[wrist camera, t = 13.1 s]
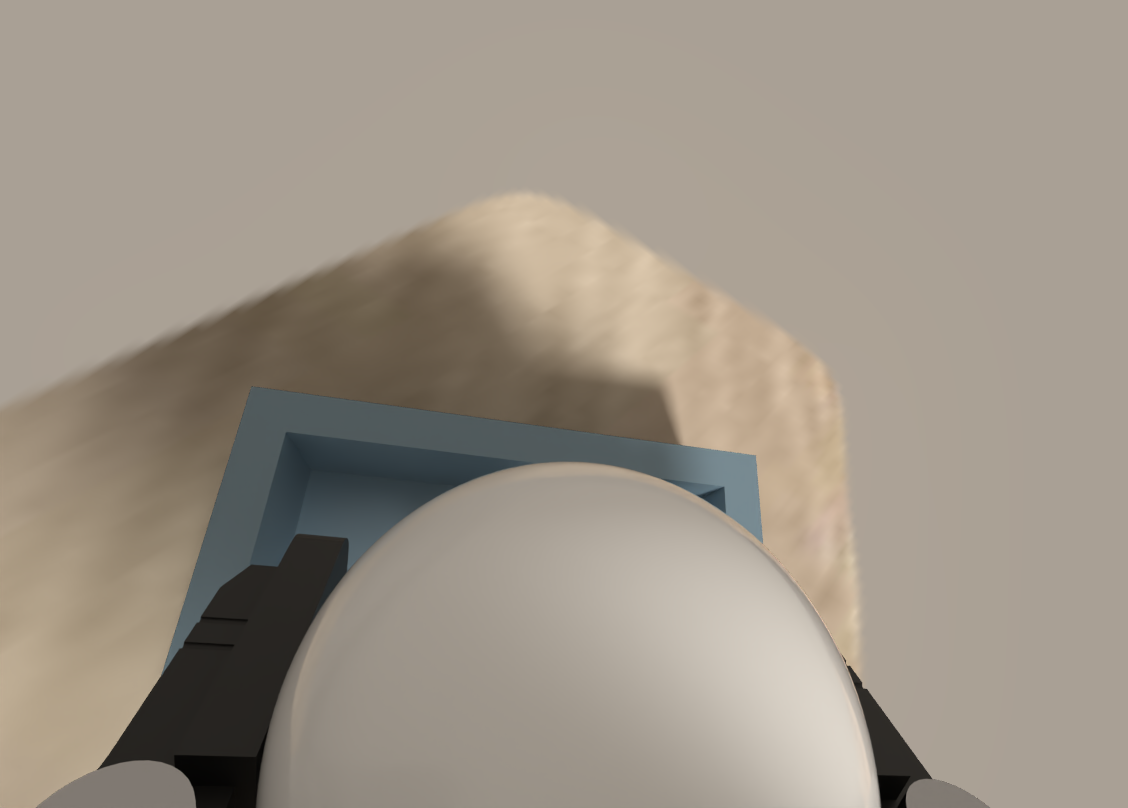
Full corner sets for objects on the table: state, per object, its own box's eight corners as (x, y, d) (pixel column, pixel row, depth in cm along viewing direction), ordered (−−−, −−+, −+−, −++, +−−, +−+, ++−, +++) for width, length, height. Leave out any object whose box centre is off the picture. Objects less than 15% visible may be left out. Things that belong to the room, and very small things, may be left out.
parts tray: (145, 969, 12) (25, 1112, 8) (288, 440, 17) (251, 386, 13) (709, 948, 14) (804, 1052, 11) (693, 490, 19) (756, 455, 16)
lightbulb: (483, 504, 15) (596, 246, 5) (664, 666, 15) (1165, 712, 5) (289, 715, 12) (-228, 988, 3) (503, 925, 12) (904, 2316, 2)
